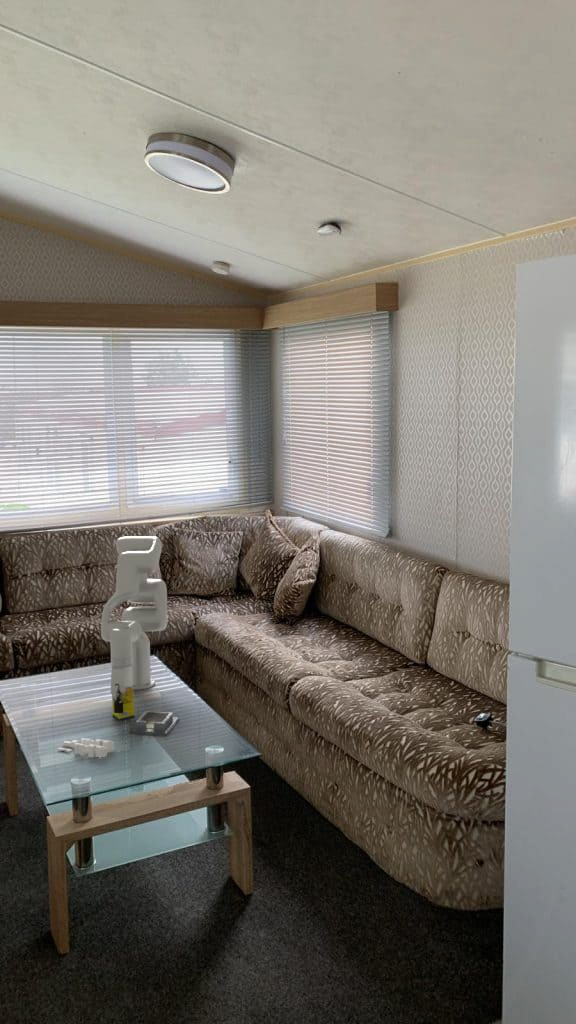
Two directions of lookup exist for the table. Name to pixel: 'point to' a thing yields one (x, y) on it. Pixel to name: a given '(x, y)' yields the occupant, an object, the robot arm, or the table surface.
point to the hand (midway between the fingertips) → (123, 708)
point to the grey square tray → (154, 723)
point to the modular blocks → (89, 747)
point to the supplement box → (125, 705)
